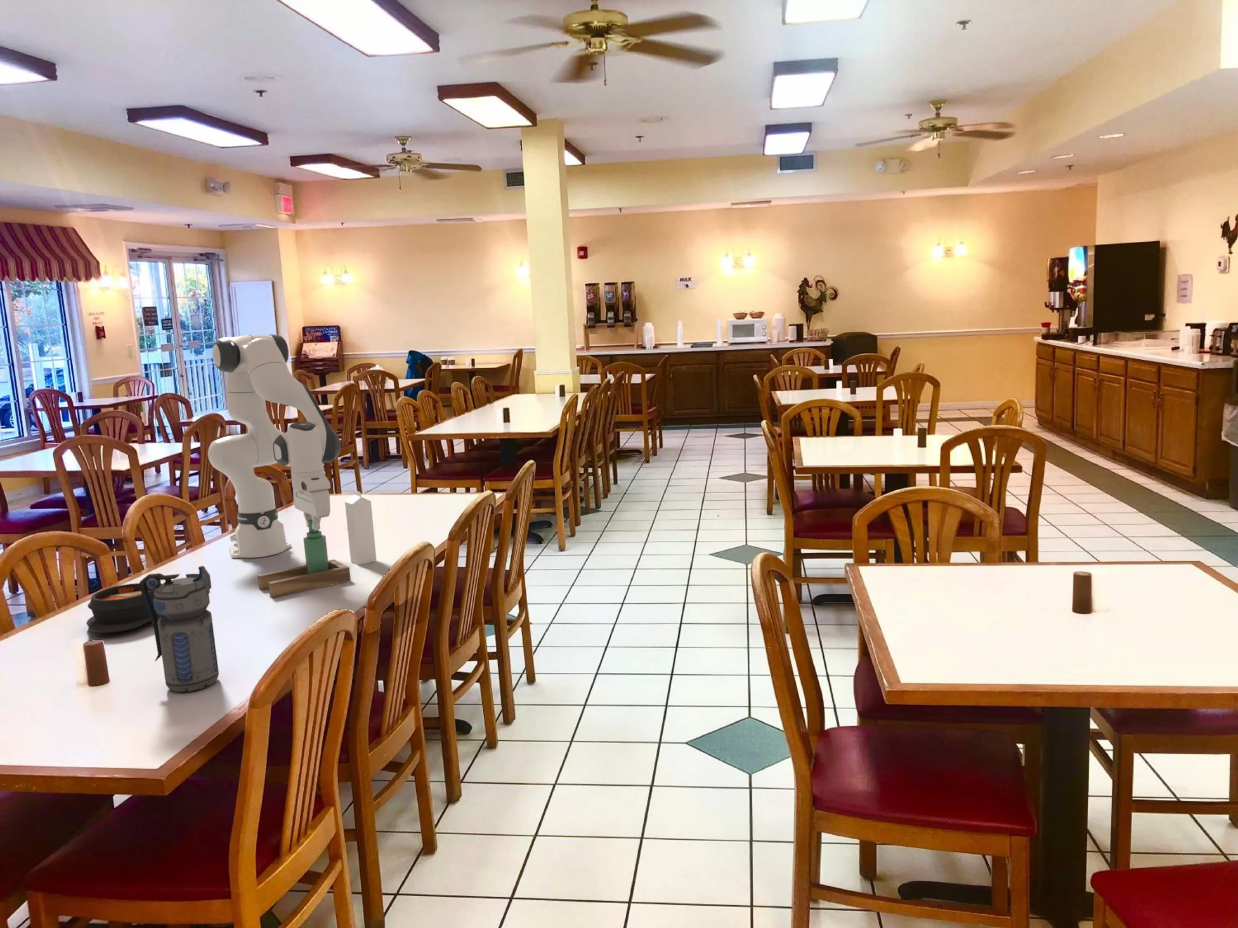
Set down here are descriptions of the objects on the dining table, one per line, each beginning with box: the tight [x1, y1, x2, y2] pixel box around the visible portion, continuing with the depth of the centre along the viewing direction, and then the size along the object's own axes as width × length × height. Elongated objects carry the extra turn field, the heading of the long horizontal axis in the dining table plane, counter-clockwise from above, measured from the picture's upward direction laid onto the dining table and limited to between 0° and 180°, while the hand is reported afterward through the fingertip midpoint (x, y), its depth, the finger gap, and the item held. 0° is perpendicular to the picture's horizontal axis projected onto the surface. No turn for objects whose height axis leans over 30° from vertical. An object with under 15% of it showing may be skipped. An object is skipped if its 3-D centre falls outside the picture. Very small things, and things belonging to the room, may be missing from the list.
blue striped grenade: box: [139, 565, 220, 693], centre depth 192 cm, size 10×13×25 cm
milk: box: [344, 489, 377, 566], centre depth 285 cm, size 6×6×22 cm
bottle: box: [303, 519, 329, 574], centre depth 265 cm, size 6×6×18 cm
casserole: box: [86, 582, 161, 634], centre depth 237 cm, size 25×19×8 cm
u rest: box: [257, 559, 352, 599], centre depth 264 cm, size 12×22×4 cm, turn 127°
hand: (313, 528), depth 264 cm, fingers open, 3 cm apart
